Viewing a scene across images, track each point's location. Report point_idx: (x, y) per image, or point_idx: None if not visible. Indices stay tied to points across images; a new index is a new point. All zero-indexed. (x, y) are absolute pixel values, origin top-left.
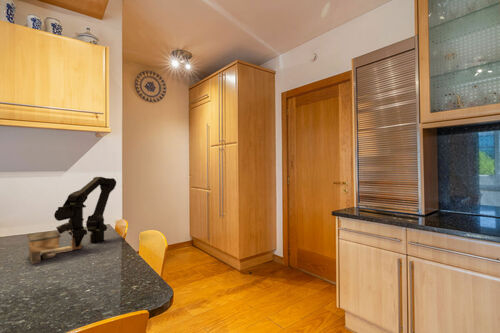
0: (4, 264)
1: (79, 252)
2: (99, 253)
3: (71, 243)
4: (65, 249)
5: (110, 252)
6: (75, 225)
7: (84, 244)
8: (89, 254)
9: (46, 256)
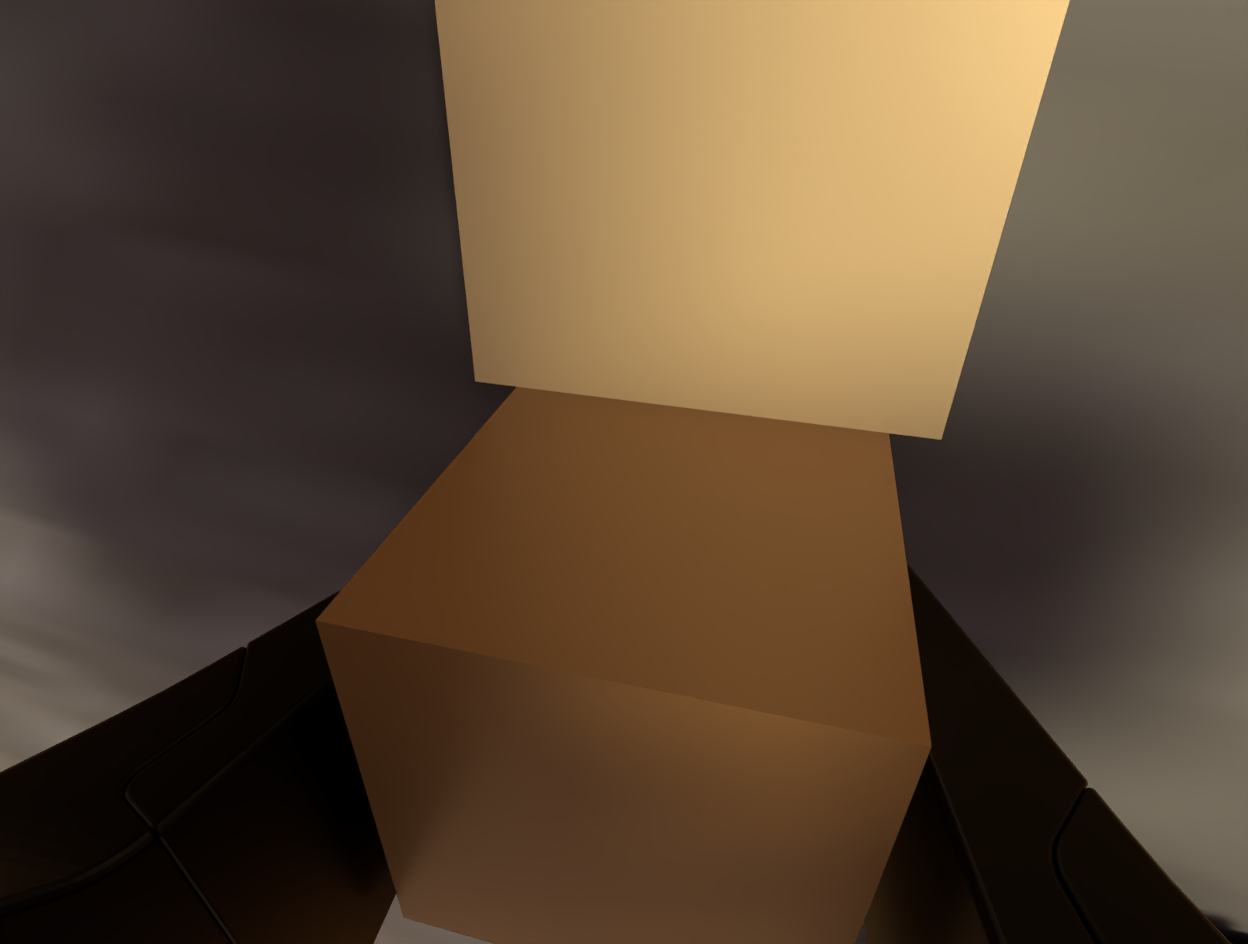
0: None
1: (277, 439)
2: (28, 649)
3: (762, 503)
4: (453, 88)
5: (37, 745)
6: None
7: (1165, 787)
8: (11, 529)
9: None
